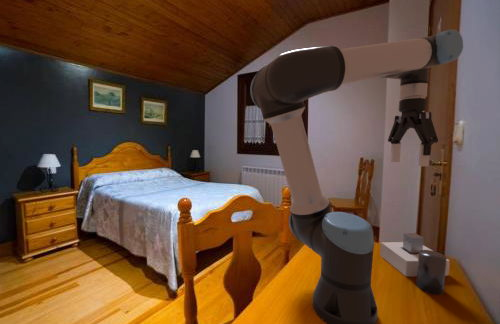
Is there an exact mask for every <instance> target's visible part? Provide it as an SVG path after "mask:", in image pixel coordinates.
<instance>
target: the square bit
mask: <svg viewBox="0 0 500 324" xmlns="http://www.w3.org/2000/svg"><path fill="white" fill-rule="evenodd" d="M402 239H403V240H402V242H403V250H405V251H406V252H408V253H409V254H410V255H413V254H419V251H420V250H423V245H424V239H425V237H424V236H422V235H419V234H417V233H416V232H411V233H410V232H404V233H403V238H402Z"/></svg>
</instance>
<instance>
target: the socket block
mask: <svg viewBox="0 0 500 324" xmlns="http://www.w3.org/2000/svg"><path fill="white" fill-rule="evenodd" d="M423 250H431V251H433V250H432V249H431V248H429V247H427V246H425V245H424V244H423ZM379 252H380V253H379V255H380V257H381V258H383V259H384V260H385V261H386V262H388V263H389V264H390V265H391V266H392V267H394V268H395V269H396V270H397V271H399V273H401V274H402V275H403V276H404V277H417V270H418V257H419V254H413V255H410V254H409V253H408V252H406V251H405V250H403V241H391V242H386V241H385V242H382V241H381V242H380V251H379ZM450 261H451V260H450V259H448V258H447V260H446V271H445V277H446V276H449V273H450Z"/></svg>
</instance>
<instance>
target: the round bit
mask: <svg viewBox="0 0 500 324" xmlns="http://www.w3.org/2000/svg"><path fill="white" fill-rule="evenodd" d="M431 250H432V249H431ZM431 250H420V251H419V257H418V270H417V276H416V283H415V285H416V287H417V288H418V289H419V290H421V291H423V292H425V293H428V294H431V295H434V296H435V295H436V296H440V295H443V294H444V293H445V282H446V280H445V279H446V276H445V271H446V260H447V259H448V258H447V256H445V255H444V254H443V253H440V252H437V251H434V250H432V251H431Z"/></svg>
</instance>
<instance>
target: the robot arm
mask: <svg viewBox="0 0 500 324" xmlns="http://www.w3.org/2000/svg"><path fill="white" fill-rule="evenodd" d="M463 41H464V40H463V37H462V35H461V33H460V32H459V31H458V30H456V29H447V30H445V31H440V32H438V33H437V34H433V35H430V36H425V37H418V38H411V39H403V40H397V41H389V42H383V43H376V44H368V45H362V46H361V45H360V46H355V47H354V46H353V47H348V48H347V47H346V48H340V47H338V46H337V45H326V46H325V45H324V46H318V47H317V46H315V47H308V48H301V49H294V50H291V51H286V52H284V53H281V54H280V55H278V56H277V57H276V58H273V60H272V61H270V62H269V63H268V64H267V65H264V66H263V67H261V68H260V69H259V70H258V71H257V72H256V73H255V75H254V77H253V79H252V80H251V83H250V88H249V90H250V91H249V93H250V97H251V100H252V103H254V105H255V106H256V107H257V108H258V109H260V111H261V115H262V119H263V121H264V122H266V123H268V124H269V125H270V126H271V130H272V133H273V137H274V140H275V144H276V147H277V151H278V154H279V158H280V161H281V164H282V168H283V172H284V176H285V180H286V182H287V186H288V189H289V192H290V193H289V194H290V196H291V200H292V203H291V204H290V206H289V212H290V215H289V216H288V226H289V229H290V231H291V233H292V234H293V235H294V238H296V239H297V240H298V241H300V242H301V243H302V244H304V245H306V247H308V248H309V249H311V250H312V251H313V252H314V253H316V254H317V255H318V256H319V257H320V258H321V259H320V276H319V278H318V281H317V283H316V286H315V288H314V291H313V293H312V307H313V310H314V312H315V313H316V315H317V316H318V317H319V318H320V319H321V320H322V321H324V322H325V323H326V324H377V322H378V313H379V312H378V311H379V310H378V306H377V305H378V304H377V302H376V299H375V295H374V291H373V289H372V273H373V261H374V259H373V257H374V248H375V240H374V229H373V226H372V225H371V224H370V223H369V222H368V221H367V220H366V219H365V218H362V217H360V216H358V215H356V214H353V213H352V214H351V213H348V212H344V211H332V206H331V204H330V200H329V198H328V197H327V196H325V195H323V194H322V190H321V186H320V183H319V178H318V176H317V174H318V173H317V172H316V171H317V170H316V166H315V163H314V159H313V156H312V152H311V148H310V144H309V139H308V136H307V132H306V129H305V125H304V121H303V118H302V117H303V116H302V114H303V112H304V110H305V109H306V106H305V101H306V100H309V99H312V98H313V97H316V96H319V95H321V94H323V93H327V92H332V91H336V90H338V89H339V88H340V87H341V86H342V85H344V84H350V83H355V82H360V81H366V80H370V79H375V78H380V79H391V80H392V79H394V80H400V83H399V85H400V86H399V95H398V97H399V101H398V112H400V113H401V115H395V116H394V120H393V121H394V122H393V125H392V127H391V130H390V133H389V135H388V139H387V142H388V143H391V159H390V162H391V163H400V162H401V148H402V147H401V146H402V145H401V144H402V143H401V141H402V140H403V138H404V136H405V134H406V133H407V131H408V130H409V129H413V130H414V132H416V134H417V136H418V139H419V140H420V144H419V153H418V154H419V155H418V165H417V166H418V167H430V156H431V153H432V151H431V150H432V145H433V144H436V143H438V142H439V138H438V136H437V132H436V129H435V126H434V123H433V119H432V112H431V111H426V110H427V101H428V100H427V97H428V85H429V81H428V80H429V74H430V73H429V72H430V68H433V67H437V66H441V65H445V64H447V63H450V62H454V61H455V60H457V59H458V58H459V57H460V56H461V54H462V53H463V49H464V42H463Z"/></svg>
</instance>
